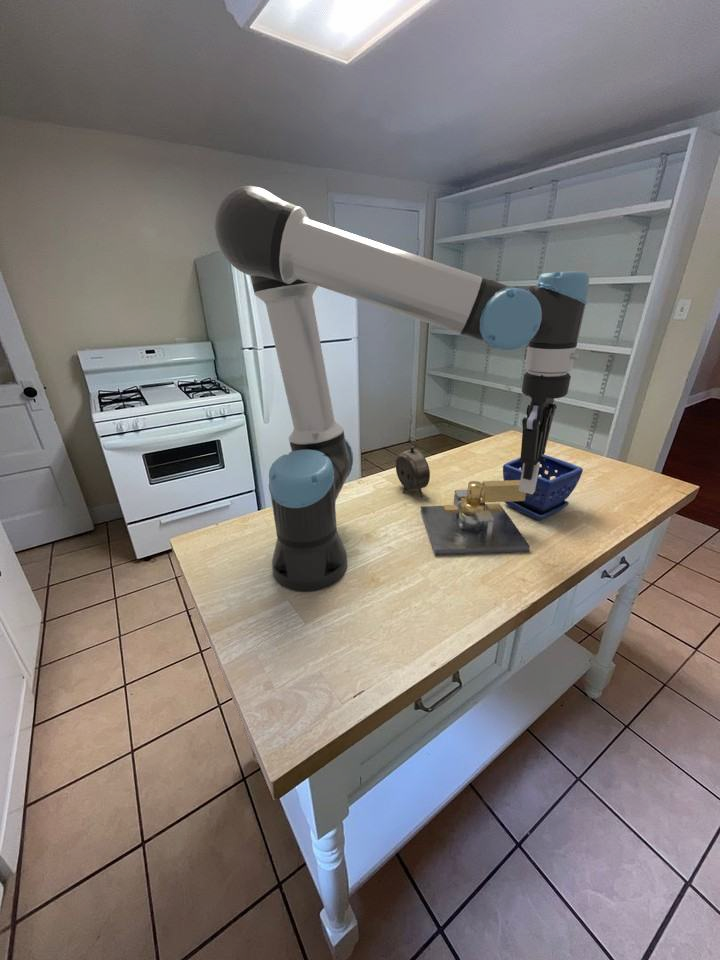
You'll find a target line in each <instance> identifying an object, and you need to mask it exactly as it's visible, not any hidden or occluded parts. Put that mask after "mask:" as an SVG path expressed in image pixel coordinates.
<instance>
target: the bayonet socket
mask: <svg viewBox="0 0 720 960" xmlns="http://www.w3.org/2000/svg"><path fill="white" fill-rule="evenodd" d="M467 490H468V489H454V494H453V495H454V496H453V505H457V507H458V509H459V512H458V513H451V514H445V513H444V510H443V505H428V506H427V505H424V506H420V514H421V517H422V521H423V523H424V526H425V530H426V533H427V536H428V539H429V542H430V545H431V549H432V551H433V554H434V556H457V555H459V556H460V555H484V554H485V555H487V554H514V553H530V549H531V546H530V544H529V543H528V542H527V540H526V538H525V537H524V535H523V534H522V533H521V531H520V530H519V529H518V527H517V526H516V524H515V523H514V522H513V520H512V519H511V517H510V516H509V514H508V513H507V512H506V510H505V509H504V508H503V507H502V512H490V511H489V510H487V509H486V504H487V503H485V510H482V511H474V514H475V516H468V515H465V514H463V513H462V512H461V510H460V508H461V500H462V499H464V498H467Z"/></svg>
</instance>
